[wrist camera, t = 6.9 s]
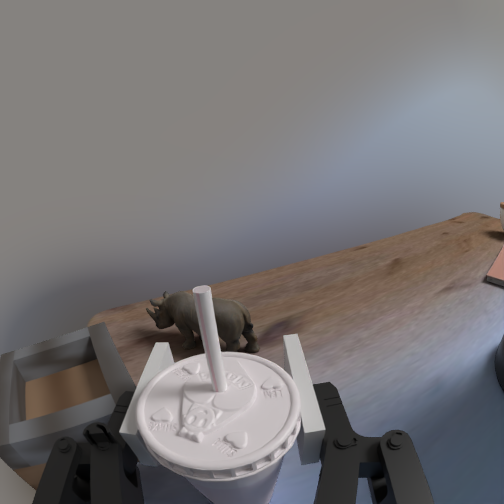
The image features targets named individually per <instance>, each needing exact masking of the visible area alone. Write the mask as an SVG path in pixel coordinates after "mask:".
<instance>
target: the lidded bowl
mask: <svg viewBox="0 0 504 504" xmlns="http://www.w3.org/2000/svg"><path fill="white" fill-rule="evenodd" d="M500 207H501V210H500V220H501V226H502V228H503V230H504V202H501V203H500Z"/></svg>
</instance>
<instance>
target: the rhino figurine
mask: <svg viewBox="0 0 504 504" xmlns="http://www.w3.org/2000/svg"><path fill="white" fill-rule="evenodd" d="M163 297H164V299H162V300H161V301H156V300H151V299H150V302H151V304H152V305H153V306H158V307H159V309H156V308H154V311H155V313H153V312H152V311H150V310H149V309H148V308H146V310H147V312H148V314H149V315H150V316H151V317H152V318H153V320H154V321H155V322H156V326H157V327H158V328H159V329H164V328H167V327H170V326H172V325H173V324H174V323H175V325H176V326H177V327H178V329H179V331H180V332H181V333H182V334H183V335H184V336H185V338H186V341H185V342H184V343H183V348H185V349H192V348H194V347H195V346H196V342H195V340H194V334H193V331H194V332H196V333H197V334H198V335H200V339H201V340H202V337H201V332H200V327H199V322H198V317H197V312H196V306H195V301H194V295H192V294H190V293H187V292H183V291H180V292H176V293H174V294H172V295H169V293H168V292H166V291H165V292H164V294H163ZM212 301H213V308H214V314H215V320H216V326H217V332H218V335H219V337H220V338H221V339H222V340H223V341H225V342H226V345H227V348H226V351H225V352H236V351H237V350H238V349H239V348H240V343H239V340H238V339H240V336H241V334H242V335H243V336H244V337H245V338H246V340H247V341H248V343H247V344H246V347H245V351H247V352H258V351H259V349H260V348H259V345H258V344H257V336H256V335H255V333H254V332H253V330H252V328H253V324H252V323H251V319H250V314H249V311H248V310H247V308H246V307H245V306H244V305H243V304H242V303H240V302H238V301H235V300H228V299H221V298H212ZM192 330H193V331H192Z"/></svg>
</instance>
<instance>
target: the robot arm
mask: <svg viewBox="0 0 504 504" xmlns="http://www.w3.org/2000/svg"><path fill="white" fill-rule="evenodd" d="M283 341H284V370H285V371H286V372H287V373H288V374H289V375H290V376H291V378H292V379H293V380H294V382H295V384H296V386H297V388H298V391H299V394H300V400H301V408H300V413H301V426H300V431H299V433H298V435H297V437H296V438H297V443H298V449H299V454H300V460H301V465H305V464H312V463H317V462H319V460H321V464H322V467H321V471H320V475H319V481H318V486H317V491H316V496H315V500H314V504H355V502H356V494H357V485H358V478H367V480H368V484H369V489H370V493H371V498H372V503H373V504H434V501H433V498H432V495H431V492H430V489H429V486H428V483H427V480H426V477H425V475H424V472H423V469H422V466H421V464H420V461H419V458H418V456H417V453H416V451H415V448H414V446H413V443H412V440H411V438H410V437H409V435H408V434H407V433H405V432H404V431H400V430H391V431H389V432H387V433H385V434H384V435H383V436H382V437H364V436H360V435H358V434H357V433H355V432H354V431H353V429H352V427H351V425H350V422H349V420H348V417H347V414H346V412H345V409H344V406H343V405H342V401H341V398H340V396H339V393H338V391H337V388H336V387H335V386H334V385H333V384H331V383H330V382H326V383H320V384H314V385H313V384H312V381H311V378H310V374H309V371H308V368H307V364H306V361H305V358H304V354H303V351H302V348H301V344H300V341H299V338H298V335H297V334H292V335H283ZM172 364H174V360H173V357H172V353H171V350H170V346H169V343H168V342H156V343H155V346H154V348H153V350H152V352H151V355H150V357H149V359H148V362H147V364H146V366H145V369H144V371H143V374H142V376H141V378H140V381H139V383H138V386H137V388H136V390H135V392H132V391H125V392H124V393H123V394H122V395H121V396H120V397H119V399H118V401H117V403H116V406H115V408H114V410H113V412H112V415H111V417H110V419H109V422H108V424H107V425H106V424H103V423H100V422H95V423H91V424H90V425H88V426H87V427H86V428H85V429H84V431H83V435H84V437H85V438H86V439H87V441H88V442H85V443H76V441H75V440H74V439H73V438H71V437H65V436H64V437H61V438H59V439H58V440H56V442H55V443H54V446H53V448H52V450H51V453H50V455H49V458H48V460H47V463H46V466H45V468H44V471H43V474H42V476H41V479H40V482H39V485H38V488H37V491H36V494H35V497H34V500H33V503H32V504H144V499H143V493H142V487H141V480H140V473H139V469H138V467H137V466H136V464H137V461H138V460H139V461H140V462H141V464H142V465H147V466H155V467H158V461H157V460H156V459H155V457H154V456H153V455H152V454H151V453H150V452H149V451H148V449H147V447H146V445H145V442H144V440H143V438H142V436H141V434H140V432H139V430H138V427H137V423H136V417H135V411H136V404H137V401H138V398H139V396H140V394H141V392H142V390H143V389H144V387H145V386H146V385H147V383H148V382H149V381H150V380H151V379H152V378H153V377H154V376H155V375H157V374H158V373H159V372H160V371H162V370H163V369H165V368H166V367H168V366H170V365H172ZM495 369H496V374H497V377H498V380H499V382H500V385H501V386H502V388H503V390H504V335H503V337H502V340H501V343H500V345H499V348H498V350H497V353H496V357H495Z"/></svg>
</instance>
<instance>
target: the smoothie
mask: <svg viewBox="0 0 504 504" xmlns="http://www.w3.org/2000/svg"><path fill="white" fill-rule="evenodd" d="M193 295H194V301H195V306H196V312H197V317H198V322H199V327H200V332H201V337H202V342H203V346H204V351H205V354H200V355H196V356H192V357H189V358H186V359H183V360H180V361H178V362H176V363H174V364H172V365H170V366H168V367H166V368H165V369H163V370H162V371H160V372H159V373H158V374H157V375H155V376H154V377H153V378H152V379H151V380H150V381H149V382H148V383H147V385H146V386H145V387H144V389H143V390H142V392H141V394H140V396H139V398H138V401H137V404H136V411H135V417H136V423H137V427H138V430H139V432H140V434H141V436H142V438H143V440H144V442H145V445H146V447H147V449H148V451H149V452H150V453H151V454H152V455H153V456H154V457H155V459H156V460H157V461H158V462H159V463H160V464H161V465H163V466H164V467H166V468H168V469H170V470H171V471H173V472H175V473H177V474H178V475H180V476H183V477H184V478H186V479H187V480H188V481H189V482H190V483H191V484H192V485H193V486H194V487H195V488H196V489H198V490H199V491H200V492H201V493H202V494H203V495H204V496H206V497H207V498H208V499H209V500H210V501H212V502H213V503H214V504H268V503H269V502H270V500H271V497H272V494H273V491H274V488H275V485H276V482H277V479H278V475H279V472H280V469H281V465H282V462H283V459H284V455H285V453H286V452H287V451H288V450H289V449H290V448H291V447H292V445H293V443H294V441H295V439H296V437H297V435H298V433H299V431H300V426H301V413H300V408H301V400H300V394H299V391H298V388H297V386H296V384H295V382H294V380H293V379H292V378H291V376H290V375H289V374H288V373H287V372H286V371H285V370H284V369H282V368H281V367H280V366H278V365H276V364H275V363H273V362H271V361H269V360H267V359H264V358H261V357H258V356H255V355H251V354H246V353H239V352H221V349H220V344H219V338H218V332H217V326H216V320H215V314H214V308H213V301H212V295H211V288H210V287H209V286H198V287H196V288H194V289H193Z"/></svg>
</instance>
